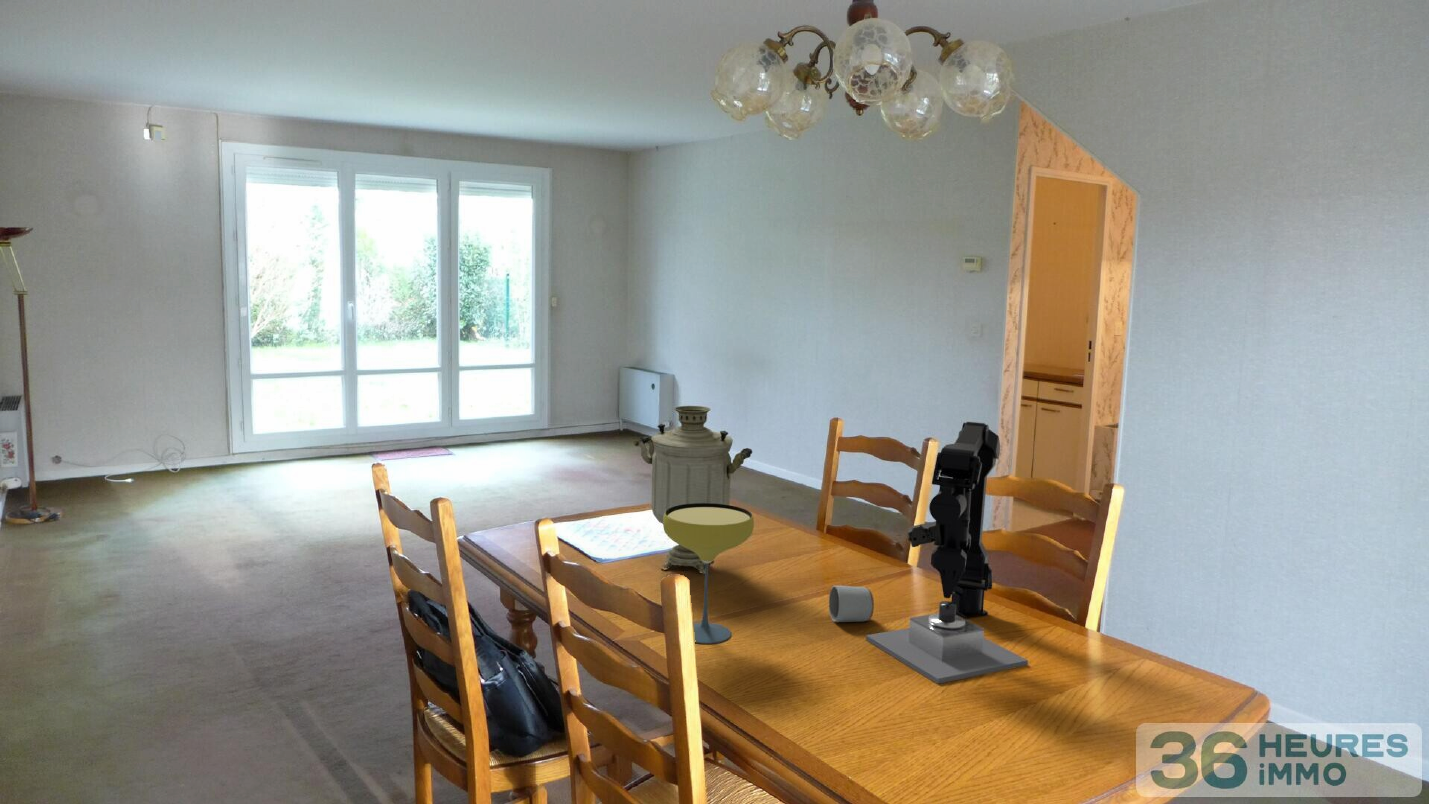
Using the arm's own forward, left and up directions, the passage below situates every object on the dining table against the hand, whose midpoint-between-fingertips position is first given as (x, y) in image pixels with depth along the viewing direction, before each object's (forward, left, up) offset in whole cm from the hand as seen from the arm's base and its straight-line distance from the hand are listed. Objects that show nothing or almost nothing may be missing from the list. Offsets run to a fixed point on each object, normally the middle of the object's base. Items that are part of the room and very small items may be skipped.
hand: (948, 590), depth 179 cm
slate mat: (0, 0, -13) cm, 13 cm away
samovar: (+22, -69, -13) cm, 74 cm away
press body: (0, 0, -13) cm, 13 cm away
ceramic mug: (+7, -23, -13) cm, 27 cm away
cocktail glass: (+40, -26, -13) cm, 49 cm away
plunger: (0, 0, -11) cm, 11 cm away
